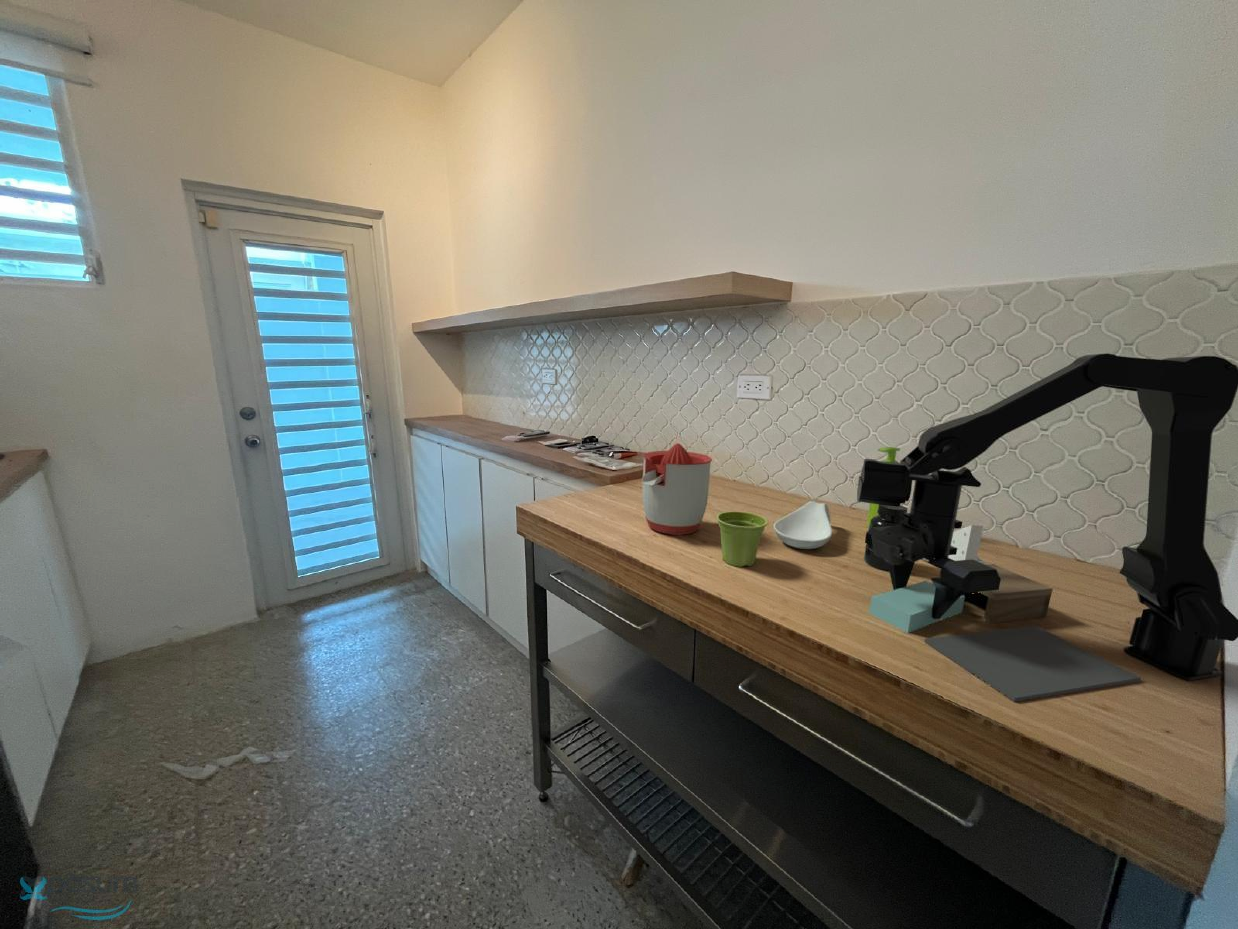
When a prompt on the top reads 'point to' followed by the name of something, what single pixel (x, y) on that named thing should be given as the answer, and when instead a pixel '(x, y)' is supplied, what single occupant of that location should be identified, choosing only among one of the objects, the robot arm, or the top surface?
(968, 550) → the white wedge bracket
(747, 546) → the plant pot
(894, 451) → the soap dispenser
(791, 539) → the spoon rest
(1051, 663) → the rubber mat
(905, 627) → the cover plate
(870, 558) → the supplement bottle
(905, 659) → the top surface
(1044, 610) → the sleeve box
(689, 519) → the citrus juicer
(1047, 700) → the top surface
